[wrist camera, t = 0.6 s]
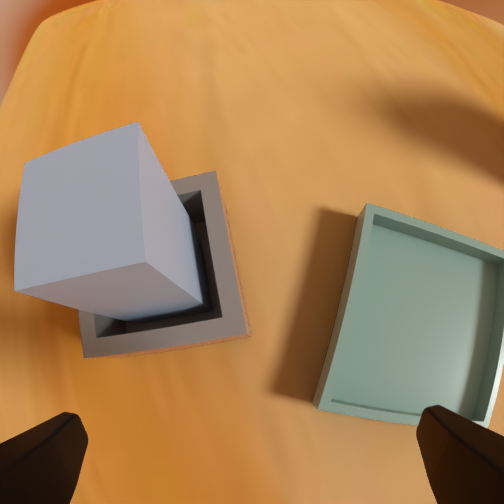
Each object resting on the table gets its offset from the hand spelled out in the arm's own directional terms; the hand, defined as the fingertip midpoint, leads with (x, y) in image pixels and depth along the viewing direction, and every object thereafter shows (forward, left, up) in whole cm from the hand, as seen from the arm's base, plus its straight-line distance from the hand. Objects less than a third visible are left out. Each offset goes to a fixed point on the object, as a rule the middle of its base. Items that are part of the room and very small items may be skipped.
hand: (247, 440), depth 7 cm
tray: (+6, -10, -13) cm, 18 cm away
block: (+5, +7, -12) cm, 15 cm away
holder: (+5, +7, -13) cm, 16 cm away
